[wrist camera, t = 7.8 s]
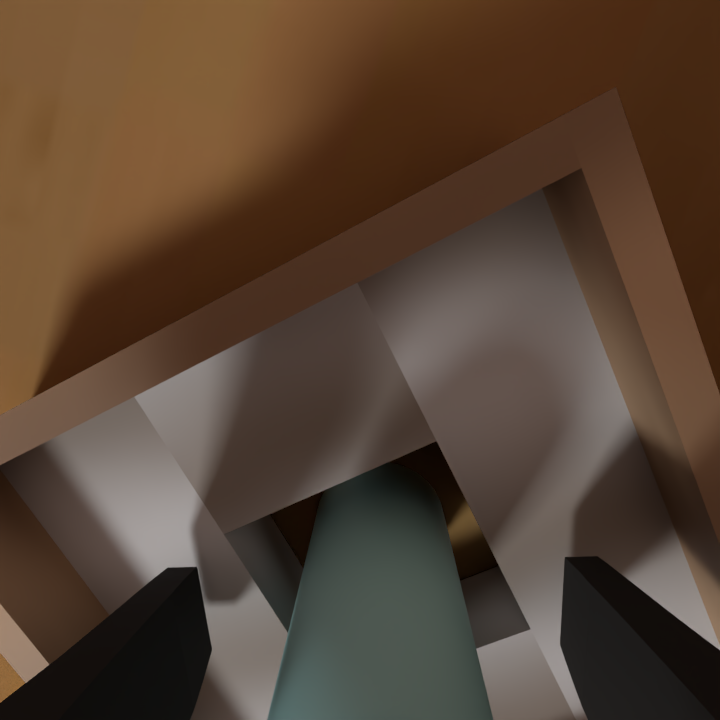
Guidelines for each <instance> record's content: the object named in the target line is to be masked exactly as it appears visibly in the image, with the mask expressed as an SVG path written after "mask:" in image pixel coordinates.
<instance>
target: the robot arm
mask: <svg viewBox="0 0 720 720" xmlns="http://www.w3.org/2000/svg"><path fill="white" fill-rule="evenodd" d="M560 646H561V649H562V652H563V655H564V658H565V661H566V664H567V667H568V670H569V672H570V675H571V678H572V681H573V684H574V686H575V689H576V692H577V695H578V697H579V700H580V703H581V706H582V708H583V710H584V712H585V714H586V717H587V719H588V720H720V650H719V649H718V648H716V647H715V646H714V645H712V644H711V643H710V642H708V641H707V640H706V639H704V638H703V637H702V636H700V635H699V634H698V633H696V632H695V631H694V630H692V629H691V628H690V627H688V626H687V625H686V624H685V623H683V622H682V621H681V620H679V619H678V618H677V617H675V616H674V615H673V614H672V613H670V612H669V611H668V610H666V609H665V608H664V607H663V606H661V605H660V604H659V603H657V602H656V601H655V600H654V599H652V598H651V597H650V596H649V595H647V594H646V593H645V592H643V591H642V590H641V589H640V588H638V587H637V586H636V585H635V584H633V583H632V582H631V581H629V580H628V579H627V578H626V577H624V576H623V575H622V574H620V573H619V572H618V571H617V570H615V569H614V568H613V567H611V566H610V565H609V564H608V563H606V562H605V561H603V560H602V559H601V558H599V557H598V556H584V557H565V560H564V578H563V596H562V615H561V633H560ZM211 652H212V646H211V641H210V635H209V630H208V624H207V619H206V613H205V608H204V602H203V597H202V591H201V586H200V580H199V574H198V569H197V567H168V568H166V569H165V570H164V571H163V572H161V573H160V574H159V575H157V576H156V577H155V578H154V579H152V580H151V581H150V582H149V583H147V584H146V585H145V586H144V587H143V588H141V589H140V590H139V591H138V592H137V593H135V594H134V595H133V596H132V597H131V598H130V599H128V600H127V601H126V602H125V603H124V604H122V605H121V606H120V607H119V608H118V609H116V610H115V611H114V612H113V613H112V614H111V615H109V616H108V617H107V618H106V619H105V620H103V621H102V622H101V623H100V624H99V625H97V626H96V627H95V628H94V629H92V630H91V631H90V632H89V633H88V634H86V635H85V636H84V637H83V638H82V639H80V640H79V641H78V642H77V643H76V644H74V645H73V646H72V647H71V648H70V649H68V650H67V651H66V652H65V653H64V654H62V655H61V656H60V657H59V658H57V659H56V660H55V661H53V662H52V663H51V664H50V665H48V666H47V667H46V668H44V669H43V670H42V671H41V672H39V673H38V674H37V675H36V676H34V677H33V678H32V679H30V680H29V681H28V682H27V683H25V684H24V685H23V686H21V687H20V688H19V689H18V690H16V691H15V692H14V693H12V694H11V695H10V696H9V697H7V698H6V699H5V700H3V701H2V702H1V703H0V720H190V719H191V716H192V714H193V711H194V709H195V706H196V702H197V699H198V696H199V693H200V690H201V686H202V683H203V680H204V676H205V673H206V669H207V666H208V662H209V659H210V655H211Z"/></svg>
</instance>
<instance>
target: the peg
mask: <svg viewBox="0 0 720 720" xmlns="http://www.w3.org/2000/svg"><path fill="white" fill-rule="evenodd" d="M267 720H493V716H492V712H491V708H490V704H489V699H488V695H487V691H486V687H485V683H484V679H483V675H482V670H481V666H480V662H479V658H478V654H477V650H476V646H475V641H474V637H473V633H472V629H471V625H470V621H469V616H468V612H467V608H466V604H465V600H464V596H463V592H462V587H461V583H460V579H459V575H458V571H457V567H456V563H455V558H454V554H453V550H452V546H451V542H450V538H449V534H448V529H447V525H446V521H445V517H444V513H443V509H442V505H441V502H440V499H439V497H438V495H437V493H436V492H435V490H434V488H433V487H432V486H431V485H430V484H429V482H428V481H427V480H425V479H424V478H423V477H422V476H421V475H419V474H418V473H416V472H415V471H413V470H411V469H409V468H407V467H404V466H401V465H398V464H394V463H385V464H383V465H381V466H379V467H376V468H374V469H372V470H369V471H367V472H365V473H363V474H360V475H358V476H356V477H353V478H351V479H349V480H347V481H344V482H342V483H340V484H337V485H335V486H333V487H331V488H328V489H326V490H325V491H324V493H323V494H322V497H321V499H320V502H319V506H318V510H317V514H316V518H315V522H314V527H313V531H312V535H311V539H310V543H309V547H308V552H307V556H306V560H305V564H304V568H303V572H302V577H301V581H300V585H299V589H298V593H297V597H296V602H295V606H294V610H293V614H292V618H291V622H290V627H289V631H288V635H287V639H286V643H285V647H284V652H283V656H282V660H281V664H280V668H279V672H278V676H277V681H276V685H275V689H274V693H273V697H272V701H271V706H270V710H269V714H268V718H267Z"/></svg>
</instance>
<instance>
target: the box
mask: <svg viewBox="0 0 720 720" xmlns="http://www.w3.org/2000/svg"><path fill="white" fill-rule="evenodd" d="M436 441H437V443H438V445H439V447H440V449H441V451H442V453H443V455H444V457H445V459H446V461H447V463H448V465H449V467H450V469H451V471H452V473H453V475H454V477H455V479H456V481H457V483H458V485H459V487H460V489H461V491H462V493H463V495H464V497H465V499H466V501H467V503H468V505H469V507H470V509H471V511H472V513H473V515H474V517H475V519H476V521H477V523H478V525H479V527H480V529H481V531H482V533H483V535H484V537H485V539H486V541H487V543H488V545H489V547H490V549H491V551H492V553H493V555H494V557H495V559H496V561H497V563H498V565H499V566H498V567H495V568H492V569H490V570H487V571H484V572H482V573H479V574H477V575H474V576H471V577H469V578H466V579H464V580H461V581H460V583H461V587H462V592H463V596H464V600H465V604H466V608H467V612H468V616H469V621H470V625H471V629H472V633H473V637H474V641H475V646H476V650H477V654H478V658H479V662H480V666H481V670H482V675H483V679H484V683H485V687H486V691H487V695H488V699H489V704H490V708H491V712H492V716H493V720H588V719H587V717H586V714H585V712H584V710H583V708H582V706H581V703H580V700H579V697H578V695H577V692H576V689H575V686H574V684H573V681H572V678H571V675H570V672H569V670H568V667H567V664H566V661H565V658H564V655H563V652H562V649H561V646H560V633H561V615H562V596H563V578H564V560H565V557H584V556H598V557H599V558H601V559H602V560H603V561H605V562H606V563H608V564H609V565H610V566H611V567H613V568H614V569H615V570H617V571H618V572H619V573H620V574H622V575H623V576H624V577H626V578H627V579H628V580H629V581H631V582H632V583H633V584H635V585H636V586H637V587H638V588H640V589H641V590H642V591H643V592H645V593H646V594H647V595H649V596H650V597H651V598H652V599H654V600H655V601H656V602H657V603H659V604H660V605H661V606H663V607H664V608H665V609H666V610H668V611H669V612H670V613H672V614H673V615H674V616H675V617H677V618H678V619H679V620H681V621H682V622H683V623H685V624H686V625H687V626H688V627H690V628H691V629H692V630H694V631H695V632H696V633H698V634H699V635H700V636H702V637H703V638H704V639H706V640H707V641H708V642H710V643H711V644H712V645H714V646H715V647H716V648H718V649H719V650H720V394H719V391H718V388H717V385H716V382H715V379H714V376H713V373H712V370H711V367H710V364H709V361H708V358H707V355H706V352H705V349H704V346H703V343H702V340H701V337H700V334H699V331H698V328H697V325H696V322H695V319H694V316H693V313H692V311H691V308H690V305H689V302H688V299H687V296H686V293H685V290H684V287H683V284H682V281H681V278H680V275H679V272H678V269H677V266H676V263H675V260H674V257H673V254H672V251H671V248H670V245H669V242H668V239H667V236H666V233H665V230H664V227H663V225H662V222H661V219H660V216H659V213H658V210H657V207H656V204H655V201H654V198H653V195H652V192H651V189H650V186H649V183H648V180H647V177H646V174H645V171H644V168H643V165H642V162H641V159H640V156H639V153H638V150H637V147H636V144H635V141H634V139H633V136H632V133H631V130H630V127H629V124H628V121H627V118H626V115H625V112H624V109H623V106H622V103H621V100H620V97H619V94H618V91H617V88H616V87H614V88H613V89H611V90H609V91H607V92H605V93H603V94H601V95H599V96H598V97H596V98H594V99H592V100H590V101H588V102H586V103H584V104H583V105H581V106H579V107H577V108H575V109H573V110H571V111H569V112H568V113H566V114H564V115H562V116H560V117H558V118H556V119H554V120H553V121H551V122H549V123H547V124H545V125H543V126H541V127H539V128H538V129H536V130H534V131H532V132H530V133H528V134H526V135H524V136H523V137H521V138H519V139H517V140H515V141H513V142H511V143H509V144H508V145H506V146H504V147H502V148H500V149H498V150H496V151H494V152H493V153H491V154H489V155H487V156H485V157H483V158H481V159H479V160H478V161H476V162H474V163H472V164H470V165H468V166H466V167H464V168H463V169H461V170H459V171H457V172H455V173H453V174H451V175H449V176H448V177H446V178H444V179H442V180H440V181H438V182H436V183H434V184H433V185H431V186H429V187H427V188H425V189H423V190H421V191H419V192H418V193H416V194H414V195H412V196H410V197H408V198H406V199H404V200H403V201H401V202H399V203H397V204H395V205H393V206H391V207H389V208H388V209H386V210H384V211H382V212H380V213H378V214H376V215H374V216H373V217H371V218H369V219H367V220H365V221H363V222H361V223H359V224H358V225H356V226H354V227H352V228H350V229H348V230H346V231H344V232H343V233H341V234H339V235H337V236H335V237H333V238H331V239H329V240H328V241H326V242H324V243H322V244H320V245H318V246H316V247H314V248H313V249H311V250H309V251H307V252H305V253H303V254H301V255H299V256H298V257H296V258H294V259H292V260H290V261H288V262H286V263H284V264H283V265H281V266H279V267H277V268H275V269H273V270H271V271H269V272H268V273H266V274H264V275H262V276H260V277H258V278H256V279H254V280H253V281H251V282H249V283H247V284H245V285H243V286H241V287H239V288H238V289H236V290H234V291H232V292H230V293H228V294H226V295H224V296H223V297H221V298H219V299H217V300H215V301H213V302H211V303H209V304H208V305H206V306H204V307H202V308H200V309H198V310H196V311H194V312H193V313H191V314H189V315H187V316H185V317H183V318H181V319H179V320H178V321H176V322H174V323H172V324H170V325H168V326H166V327H164V328H163V329H161V330H159V331H157V332H155V333H153V334H151V335H149V336H148V337H146V338H144V339H142V340H140V341H138V342H136V343H134V344H133V345H131V346H129V347H127V348H125V349H123V350H121V351H119V352H118V353H116V354H114V355H112V356H110V357H108V358H106V359H104V360H103V361H101V362H99V363H97V364H95V365H93V366H91V367H89V368H88V369H86V370H84V371H82V372H80V373H78V374H76V375H74V376H73V377H71V378H69V379H67V380H65V381H63V382H61V383H59V384H58V385H56V386H54V387H52V388H50V389H48V390H46V391H44V392H43V393H41V394H39V395H37V396H35V397H33V398H31V399H29V400H28V401H26V402H24V403H22V404H20V405H18V406H16V407H14V408H13V409H11V410H9V411H7V412H5V413H3V414H1V415H0V653H1V654H2V655H3V657H4V658H5V659H6V660H7V661H8V663H9V664H10V665H11V666H12V667H13V669H14V670H15V671H16V672H17V673H18V675H19V676H20V677H21V678H22V679H23V680H24V682H25V683H27V682H28V681H29V680H30V679H32V678H33V677H34V676H36V675H37V674H38V673H39V672H41V671H42V670H43V669H44V668H46V667H47V666H48V665H50V664H51V663H52V662H53V661H55V660H56V659H57V658H59V657H60V656H61V655H62V654H64V653H65V652H66V651H67V650H68V649H70V648H71V647H72V646H73V645H74V644H76V643H77V642H78V641H79V640H80V639H82V638H83V637H84V636H85V635H86V634H88V633H89V632H90V631H91V630H92V629H94V628H95V627H96V626H97V625H99V624H100V623H101V622H102V621H103V620H105V619H106V618H107V617H108V616H109V615H111V614H112V613H113V612H114V611H115V610H116V609H118V608H119V607H120V606H121V605H122V604H124V603H125V602H126V601H127V600H128V599H130V598H131V597H132V596H133V595H134V594H135V593H137V592H138V591H139V590H140V589H141V588H143V587H144V586H145V585H146V584H147V583H149V582H150V581H151V580H152V579H154V578H155V577H156V576H157V575H159V574H160V573H161V572H163V571H164V570H165V569H166V568H168V567H197V569H198V574H199V580H200V586H201V591H202V597H203V602H204V608H205V613H206V619H207V624H208V630H209V635H210V641H211V646H212V652H211V655H210V659H209V662H208V666H207V669H206V673H205V676H204V680H203V683H202V686H201V690H200V693H199V696H198V699H197V702H196V706H195V709H194V711H193V714H192V716H191V719H190V720H267V718H268V714H269V710H270V706H271V701H272V697H273V693H274V689H275V685H276V681H277V676H278V672H279V668H280V664H281V660H282V656H283V652H284V647H285V643H286V639H287V635H288V631H289V627H290V622H291V618H292V614H293V610H294V606H295V602H296V597H297V593H298V589H299V585H300V581H301V577H302V572H303V567H302V566H301V564H300V563H299V561H298V559H297V558H296V556H295V554H294V553H293V551H292V550H291V548H290V546H289V545H288V543H287V541H286V540H285V538H284V537H283V535H282V533H281V532H280V530H279V528H278V527H277V525H276V524H275V522H274V520H273V519H272V517H271V515H270V514H271V513H274V512H276V511H278V510H280V509H283V508H285V507H287V506H290V505H292V504H294V503H296V502H299V501H301V500H303V499H306V498H308V497H310V496H312V495H315V494H317V493H319V492H322V491H324V490H326V489H328V488H331V487H333V486H335V485H337V484H340V483H342V482H344V481H347V480H349V479H351V478H353V477H356V476H358V475H360V474H363V473H365V472H367V471H369V470H372V469H374V468H376V467H379V466H381V465H383V464H385V463H388V462H390V461H392V460H395V459H397V458H399V457H401V456H404V455H406V454H408V453H411V452H413V451H415V450H417V449H420V448H422V447H424V446H427V445H429V444H431V443H433V442H436Z"/></svg>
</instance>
